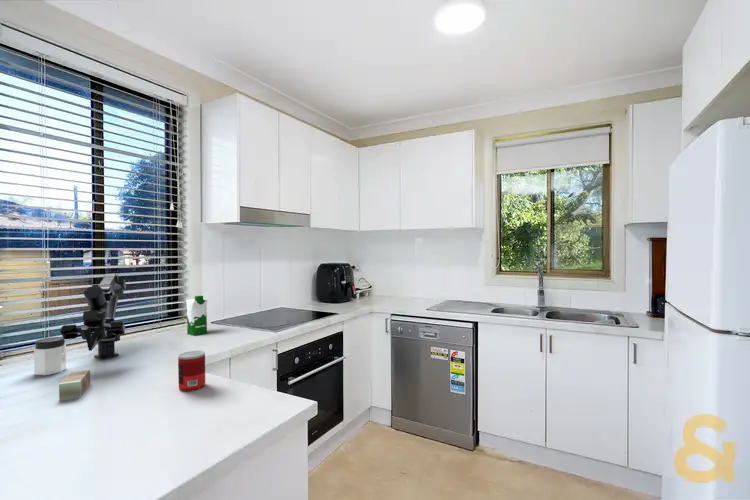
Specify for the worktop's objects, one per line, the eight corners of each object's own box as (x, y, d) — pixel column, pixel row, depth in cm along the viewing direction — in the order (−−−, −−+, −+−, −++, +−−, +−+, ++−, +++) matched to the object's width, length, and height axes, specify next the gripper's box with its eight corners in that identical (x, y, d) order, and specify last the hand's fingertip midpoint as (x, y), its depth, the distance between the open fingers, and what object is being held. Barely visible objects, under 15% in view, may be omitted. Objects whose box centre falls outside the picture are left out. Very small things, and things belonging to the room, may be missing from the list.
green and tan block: (71, 371, 122) (59, 384, 112) (90, 369, 125) (79, 381, 114) (71, 387, 123) (59, 400, 112) (90, 384, 125) (80, 397, 114)
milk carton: (193, 336, 190) (193, 297, 190) (184, 334, 195) (184, 296, 195) (209, 333, 197) (209, 295, 197) (200, 330, 202) (200, 294, 202)
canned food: (210, 384, 124) (210, 351, 124) (191, 393, 117) (191, 358, 117) (192, 381, 127) (192, 349, 127) (173, 390, 119) (172, 356, 119)
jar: (58, 374, 135) (58, 341, 134) (30, 377, 132) (30, 343, 132) (69, 366, 143) (69, 335, 143) (43, 369, 140) (42, 337, 140)
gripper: (61, 303, 134) (50, 341, 124) (123, 299, 142) (117, 335, 132) (69, 320, 141) (59, 357, 132) (127, 316, 149) (122, 351, 140)
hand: (90, 350), depth 134 cm, fingers closed
